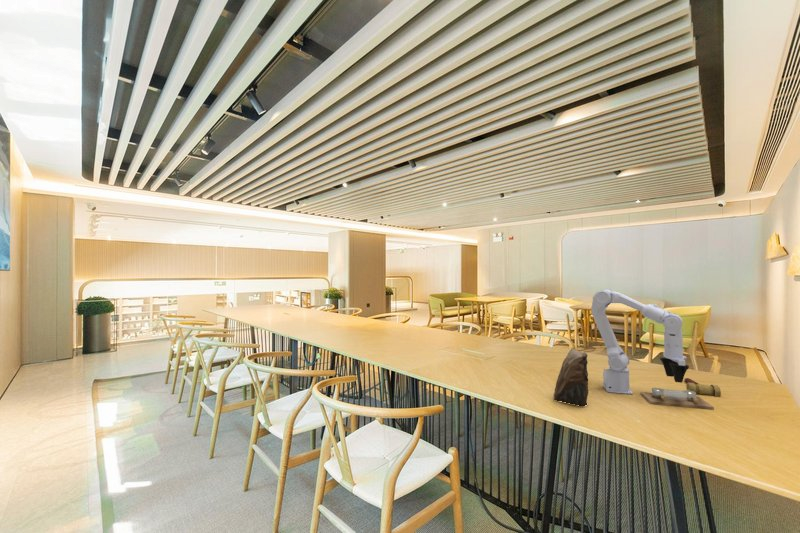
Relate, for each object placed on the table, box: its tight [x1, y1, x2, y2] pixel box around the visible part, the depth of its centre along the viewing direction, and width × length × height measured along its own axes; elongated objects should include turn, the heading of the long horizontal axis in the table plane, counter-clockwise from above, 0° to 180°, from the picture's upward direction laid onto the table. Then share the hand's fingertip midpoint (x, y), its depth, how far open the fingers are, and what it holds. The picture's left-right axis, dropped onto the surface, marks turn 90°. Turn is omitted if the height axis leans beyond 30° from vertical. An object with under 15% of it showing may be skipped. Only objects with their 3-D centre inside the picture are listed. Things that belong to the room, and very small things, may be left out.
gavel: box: [683, 377, 722, 397], centre depth 150 cm, size 21×5×10 cm
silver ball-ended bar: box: [651, 387, 697, 402], centre depth 135 cm, size 14×4×3 cm, turn 72°
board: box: [639, 391, 715, 411], centre depth 135 cm, size 20×11×3 cm, turn 72°
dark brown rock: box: [553, 347, 589, 407], centre depth 137 cm, size 13×13×20 cm
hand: (674, 379), depth 135 cm, fingers open, 7 cm apart
